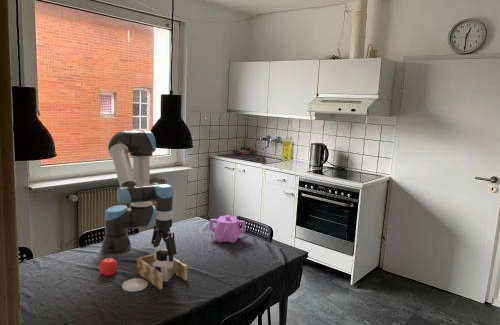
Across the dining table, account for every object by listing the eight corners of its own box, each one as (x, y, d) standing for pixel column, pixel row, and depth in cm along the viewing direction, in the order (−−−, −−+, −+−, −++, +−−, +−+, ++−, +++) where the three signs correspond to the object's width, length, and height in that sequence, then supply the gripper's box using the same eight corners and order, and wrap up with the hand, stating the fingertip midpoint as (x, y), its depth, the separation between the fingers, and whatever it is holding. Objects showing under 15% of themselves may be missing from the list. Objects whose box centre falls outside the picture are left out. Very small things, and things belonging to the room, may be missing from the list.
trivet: (117, 284, 170) (117, 283, 170) (140, 277, 178) (140, 276, 178) (129, 294, 162) (129, 293, 162) (152, 286, 170) (152, 285, 170)
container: (167, 282, 175) (167, 255, 172) (151, 279, 176) (152, 253, 174) (173, 274, 182) (174, 249, 180) (159, 272, 184) (159, 246, 181)
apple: (120, 271, 182) (120, 256, 181) (109, 279, 175) (109, 262, 173) (107, 268, 185) (107, 253, 183) (95, 275, 177) (95, 259, 176)
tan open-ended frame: (136, 272, 183) (136, 258, 181) (162, 263, 193) (162, 250, 191) (160, 289, 168) (160, 274, 167) (187, 279, 178) (187, 265, 177)
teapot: (225, 248, 216) (226, 223, 214) (204, 239, 229) (205, 215, 226) (248, 240, 230) (250, 216, 228) (227, 231, 242) (228, 209, 240)
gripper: (143, 213, 179) (143, 257, 183) (170, 226, 163) (170, 274, 167) (157, 210, 185) (157, 253, 188) (185, 223, 169) (184, 269, 173)
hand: (163, 263), depth 178 cm, fingers closed on container, 10 cm apart
